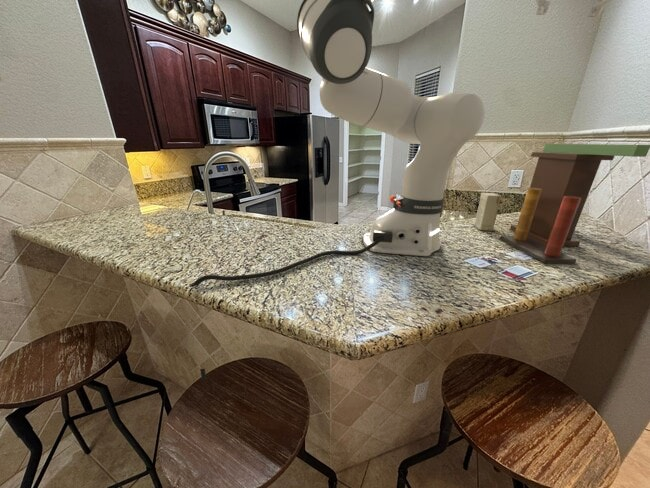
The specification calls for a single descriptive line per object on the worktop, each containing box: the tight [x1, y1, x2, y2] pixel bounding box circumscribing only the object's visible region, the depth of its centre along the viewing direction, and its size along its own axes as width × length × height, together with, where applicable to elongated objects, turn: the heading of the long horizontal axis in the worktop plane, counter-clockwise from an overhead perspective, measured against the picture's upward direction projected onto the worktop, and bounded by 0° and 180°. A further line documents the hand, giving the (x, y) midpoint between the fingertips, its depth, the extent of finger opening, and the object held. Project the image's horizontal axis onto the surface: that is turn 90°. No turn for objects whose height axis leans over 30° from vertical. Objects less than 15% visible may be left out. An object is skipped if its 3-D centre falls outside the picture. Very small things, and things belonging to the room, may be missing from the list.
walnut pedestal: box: [509, 151, 615, 247], centre depth 80 cm, size 10×16×26 cm, turn 0°
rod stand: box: [499, 187, 581, 265], centre depth 72 cm, size 8×18×16 cm, turn 0°
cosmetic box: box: [474, 192, 502, 232], centre depth 91 cm, size 6×4×12 cm
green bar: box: [542, 143, 650, 158], centre depth 71 cm, size 3×26×2 cm, turn 0°
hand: (566, 14), depth 54 cm, fingers open, 8 cm apart
